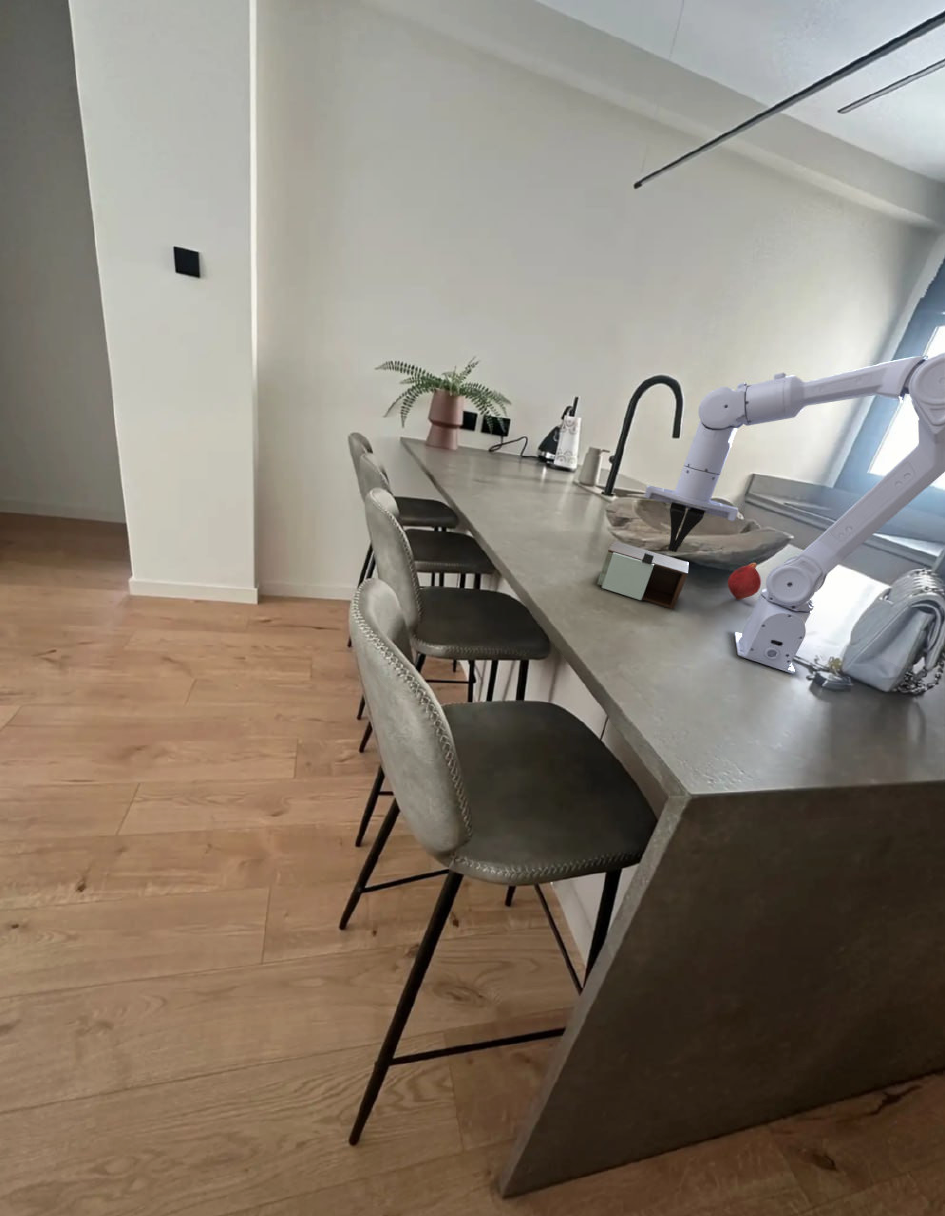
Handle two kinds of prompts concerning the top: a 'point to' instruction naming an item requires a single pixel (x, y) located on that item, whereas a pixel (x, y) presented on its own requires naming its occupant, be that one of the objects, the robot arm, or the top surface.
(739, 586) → the onion
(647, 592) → the cabinet
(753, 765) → the top surface
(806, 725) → the top surface
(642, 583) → the sliding door
